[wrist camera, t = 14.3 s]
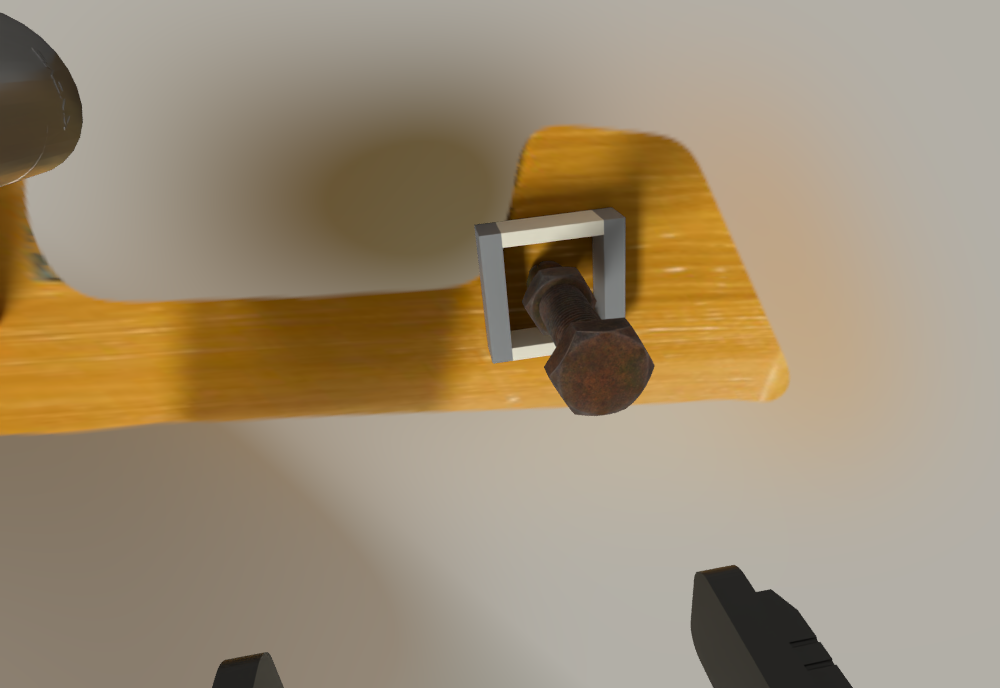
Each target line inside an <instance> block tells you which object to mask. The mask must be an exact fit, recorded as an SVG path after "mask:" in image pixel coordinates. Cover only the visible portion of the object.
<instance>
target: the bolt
mask: <svg viewBox="0 0 1000 688" xmlns="http://www.w3.org/2000/svg"><path fill="white" fill-rule="evenodd" d="M596 302H597V301H596V299H595V297H594V295H593V294H592V292H591V290H590V288H589V287H588V285H587V284H586V282H585V280H584V279H583V277H582V276H581V274H580V272H579V271H578V270H577V269H576V267H562V266H561V265H560V264H558V263H556V262H554V261H543V262H540V265H538V267H537V264H536V265H535V266H534V267H533V268H532V269H531V270H530V271H529V276H528V279H527V291H526V293H525V295H524V297H523V300H522V303H523V305H524V307H525V309H526V311H527V312H528V314H529V315H530V317H531V319H532V320H533V322H534V323H535V324H536V326H537V327H538V329H539V330H540V332H541V333H542V334H543V335H550V336H551V338H552V341H553V343H554V344H555V346H556V348H555V350H554V351H553V353H552V355H551V356H550V358H549V360H548V361H547V363H546V365H545V366H544V368H545V370H546V373H547V375H548V377H549V379H550V380H551V382H552V383H553V385H554V387H555V388H556V390H557V391H558V393H559V394H560V396H561V397H562V398H563V400H564V401H565V403H566V404H567V405H568V407H569V408H570V409H571V411H572V412H573V413H574V414H577V415H585V416H598V415H607V414H612V413H616V412H619V411H621V410H624V409H626V408H627V407H628V406H630V405H631V404H632V403H633V402H634V401H635V400H636V399H637V398H638V397H639V395H640V394H641V393H642V391H643V390H644V388H645V387H646V385H647V383H648V381H649V379H650V377H651V374H652V371H653V369H654V364H653V361H652V359H651V358H650V356H649V354H648V352H647V351H646V349H645V347H644V345H643V344H642V342H641V340H640V339H639V337H638V335H637V334H636V332H635V331H634V329H633V328H632V326H631V325H630V324H629V322H628V321H627V320H626V319H625V317H623V318H612V319H601V318H600V317H599V315H598V314H597V312H596V311H595V310H594V307H595V304H596Z"/></svg>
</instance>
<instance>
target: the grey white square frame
mask: <svg viewBox="0 0 1000 688" xmlns="http://www.w3.org/2000/svg"><path fill="white" fill-rule="evenodd" d="M475 234H476V243H477V252H478V261H479V269H480V279H481V288H482V297H483V305H484V314H485V323H486V332H487V341H488V347H489V351H490V355H491V358H492V362H493V363H500V362H507V361H514V360H520V359H527V358H534V357H541V356H548V355H552V353H553V351H554V350H555V348H556V346H555V344H554V343H553V341H552V338H551V336H550V335H543V334H542V333H541V332H540V330H539V329H538V327H534V328H527V329H520V330H513V331H510V322H509V312H508V301H507V290H506V279H505V269H504V258H503V248H506V247H514V246H522V245H529V244H537V243H544V242H552V241H560V240H567V239H575V238H582V237H590V236H592V250H593V293H594V297H595V299H596V301H597V302H596V304H595V307H594V310H595V311H596V312H597V314H598V315H599V317H600V318H601V319H612V318H623V317H625V217H624V216H623V215H621V214H620V213H619V212H617V211H616V210H615V209H613V208H612V207H611V208H603V209H595V210H587V211H579V212H572V213H564V214H556V215H548V216H540V217H532V218H525V219H517V220H509V221H502V222H493V223H485V224H478V225H475Z"/></svg>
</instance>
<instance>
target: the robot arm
mask: <svg viewBox="0 0 1000 688" xmlns="http://www.w3.org/2000/svg"><path fill="white" fill-rule="evenodd" d="M82 120H83V119H82V104H81V101H80V97H79V94H78V90H77V87H76V84H75V82H74V81H73V78H72V76H71V74H70V72H69V70H68V68H67V67H66V66H65V64H64V63H63V61H62V60H61V59H60V58H59V56H58V55H57V53H56V52H55V51H54V50H53V49H52V48H51V47H50V46H49V45H48V44H47V43H46V42H45V41H44V40H43V39H42V38H41V37H40V36H39V35H37V34H36V33H35V32H33V31H32V30H31V29H29V28H28V27H26V26H25V25H24V24H22V23H20V22H18V21H17V20H15V19H13V18H11V17H9V16H7V15H5V14H3V13H0V187H1V186H5V185H8V184H11V183H14V182H17V181H20V180H23V179H26V178H29V177H31V176H35V175H38V174H41V173H44V172H47V171H50V170H52V169H54V168H55V167H57V166H58V165H60V164H61V163H63V162H64V161H65V160H66V159H67V158H68V156H69V155H70V154H71V153H72V152H73V151H74V149H75V146H76V144H77V142H78V140H79V138H80V134H81V128H82V123H83V121H82ZM691 633H692V638H693V642H694V646H695V649H696V652H697V654H698V657H699V659H700V661H701V663H702V665H703V667H704V669H705V672H706V673H707V676H708V678H709V680H710V682H711V684H712V686H713V687H714V688H853V687H852V686H851V685H850V683H849V682H848V680H847V679H846V678H845V676H844V675H843V673H842V672H841V671H840V669H839V668H838V666H837V665H834V663H833V661H832V658H831V657H830V655H829V654H828V652H827V651H826V649H825V648H824V647H823V645H822V644H821V642H818V641H817V637H816V635H815V634H814V633H813V631H812V630H811V628H810V627H809V626H808V624H807V623H806V621H805V620H804V618H803V617H802V616H801V614H800V613H799V611H798V610H797V609H795V608H794V607H793V606H792V605H790V604H789V603H788V602H787V601H785V600H784V599H783V598H781V597H780V596H779V595H778V594H776V593H775V592H774V591H773V590H771V589H770V590H765V591H760V592H755V590H754V589H753V587H752V585H751V584H750V582H749V581H748V579H747V578H746V576H745V575H744V573H743V572H742V571H741V570H740V569H739V568H738V567H737V566H735V565H731V566H726V567H720V568H715V569H710V570H705V571H700V572H696V574H695V577H694V588H693V600H692V613H691ZM212 688H284V687H283V684H282V682H281V680H280V677H279V675H278V672H277V670H276V667H275V665H274V662H273V660H272V657H271V655H270V654H269V653H268V652H265V653H259V654H254V655H249V656H244V657H238V658H233V659H228V660H224V661H223V662H222V663H221V664H220V666H219V668H218V670H217V673H216V676H215V680H214V683H213V686H212Z"/></svg>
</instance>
